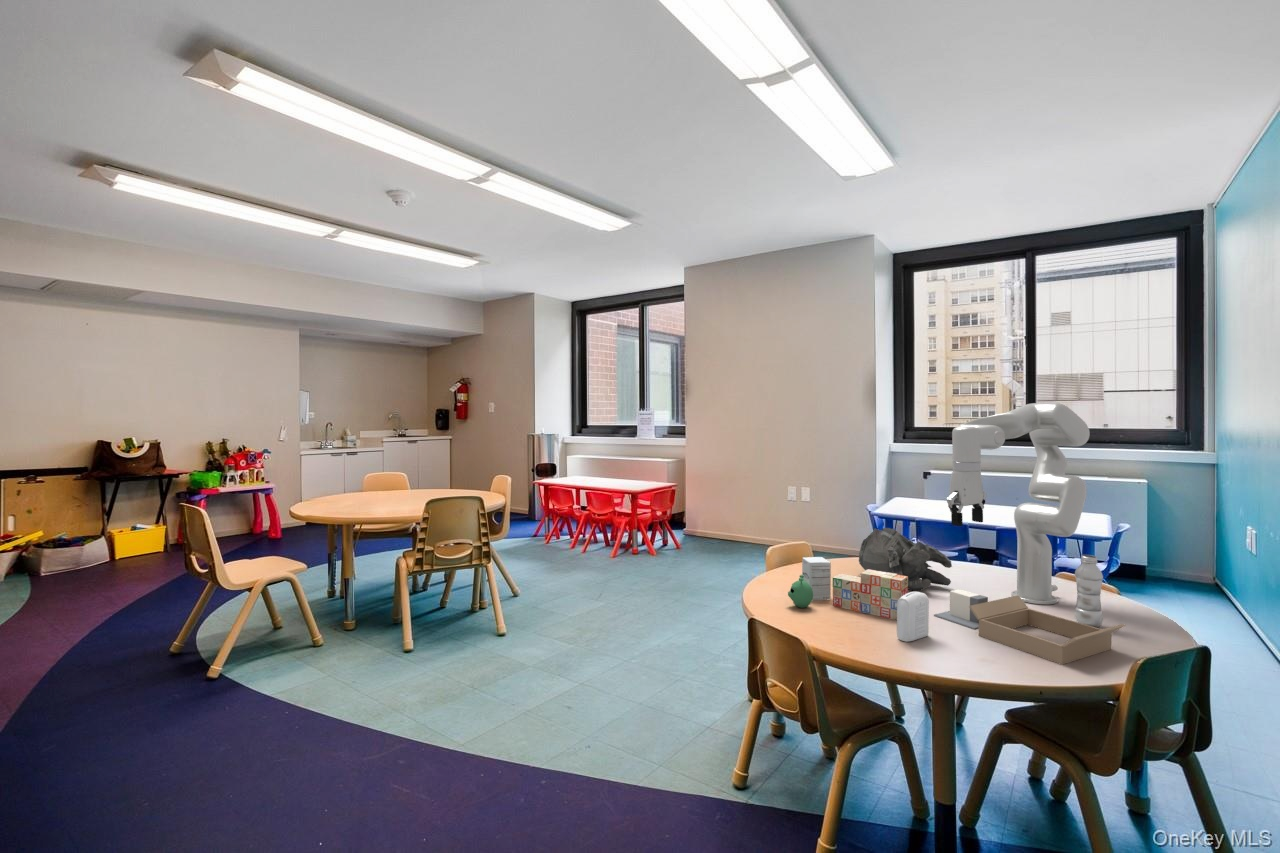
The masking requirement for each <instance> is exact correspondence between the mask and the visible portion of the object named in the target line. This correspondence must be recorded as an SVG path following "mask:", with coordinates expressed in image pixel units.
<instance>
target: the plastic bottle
mask: <svg viewBox="0 0 1280 853" xmlns="http://www.w3.org/2000/svg"><path fill="white" fill-rule="evenodd" d="M1080 562H1081V564H1080V565H1079V566H1078V567H1077V568H1076V569H1075V571H1074V577H1075V583H1076V591H1077V592H1076V595H1077V596H1076V605H1075V608H1074V619H1075V622H1078V623H1082V624H1085V625H1089V626H1092V627H1096V628H1098V627H1100V626H1102V624H1103V622H1104V615H1103V611H1102V603H1101V594H1102V585H1103V579H1104V574H1103V572H1102V571H1101V570H1100V568H1099V567H1098V562H1099V561H1098V556H1096V555H1093V554H1092V555H1091V554H1081V556H1080Z"/></svg>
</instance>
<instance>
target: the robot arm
mask: <svg viewBox="0 0 1280 853" xmlns="http://www.w3.org/2000/svg"><path fill="white" fill-rule="evenodd" d="M951 432H952V433H951V438H952V442H951V443H952V448H951V449H952V450H951V451H952V472H951V474H950V479H949V480H950V481H949V492H948V497H947V498H946V502H947V505H948V506H947V507H948V509H949V512H950V514H951V516H950V517H951V518H950V519H951V520H950V521H951V525H952V526H957V527H962V526H963V512H962V510H963V509H964V507H967V506H972V508H971V521H972V522H975V523H984V509H985V506H984V505H985V504H986V498H987V493H986V492H984V487H983V476H982V471H981V470H982V462H981V458H982V455H981V453H982V452H981V450H991V451H992V450H997V449H999V448H1001V447H1002V446H1003V445H1004V443H1005V441H1006V440H1010V439H1011V440H1012V439H1017V438H1019V437H1022V436H1024V435H1026V434H1029V438H1030V440H1031V442H1032V444H1033V447H1034V449H1035V452H1036V453H1035V454H1036V461H1035V465H1034V468H1033V472H1032V475H1031V478H1030V481H1029V484H1028V495H1029V497H1030V498H1031V499H1033V500H1034V501H1039V502H1045V503H1046V504H1045V503H1039V502H1024V503H1023V502H1022V503H1020V504H1019V505H1017V506H1016V507H1015V510H1014V512H1013V520H1014V525H1015V530H1016V537H1017V538H1016V540H1017V543H1016V544H1017V551H1016V552H1017V553H1016V554H1017V555H1016V556H1017V558H1016V560H1017V561H1016V564H1017V566H1016V573H1017V574H1016V590H1013V591H1011V597H1013V596H1018V595H1019V597H1020V598H1021V599H1022V601H1024V603H1027V604H1028V603H1030V604H1035V605H1055V604H1056V603H1058V597H1056V596H1055V595H1053V594H1052V593H1053V592H1056V591H1058V586H1057V585H1056V584H1052V575H1053V573H1052V572H1053V568H1052V567H1053V566H1052V565H1053V559H1052V558H1053V557H1052V556H1053V549H1052V548H1053V547H1052V544H1051V542H1050V539H1049V538H1048V536H1047V535H1049V536H1054V537H1060V538H1061V537H1062V538H1068V537H1071V536H1073V535H1074V534H1075V532H1076V530H1077V529H1078V525H1079V522H1080V519H1081V517H1082V516H1081V515H1082V514H1083V510H1084V507H1085V502H1086V498H1087V495H1088V494H1087V493H1088V490H1087V484H1086V482H1085V481H1084V479H1082V478H1081V477H1079V476H1076V475H1070V474H1066V471H1067V467H1068V460H1067V458H1066V456H1065V455H1064V453H1063V451H1062V450H1061V449H1060V447H1081V446H1083V445H1085V444H1086V443H1087V442H1088V441H1089V439H1090V435H1091V434H1090V428H1089V425H1088V424H1087V422H1086V421H1085V420H1083V418H1081V417H1080V416H1079V415H1078V414H1077V413H1075V412H1074V410H1072V409H1071V408H1070V407H1068V406H1066V405H1065V404H1063V403H1060V402H1043V403H1042V402H1036V403H1035V402H1033V403H1027V404H1025V405H1023V406H1019V407H1017V408H1015V409H1012V410H1009V411H1007V412H1004V413H997V414H994V415H988V416H984V417H979V418H975V419H971V420H970V421H966V422H963V423H961V424H959V425H958V426H956V427H954V428H953V429H952V431H951ZM1047 503H1051V504H1047ZM1052 504H1058V505H1052Z"/></svg>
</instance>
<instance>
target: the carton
mask: <svg viewBox="0 0 1280 853" xmlns="http://www.w3.org/2000/svg"><path fill="white" fill-rule="evenodd" d="M969 608H970V609H971V611H972V612H973V614H974V615H975V616H976V618H977V619H978V620H979V628H978V637H981V636H982V638H984V639H988V640H990V639H991V640H990V641H993V642H997V643H999V644H1001V643H1002V645H1005V646H1008V647H1010V646H1011V648H1013V647H1014V648H1013V649H1016V648H1018V649H1017V650H1019V649H1020V650H1019V651H1022V650H1023V651H1022V652H1024V651H1026V652H1025V653H1027V652H1029V653H1028V654H1030V653H1032V654H1031V655H1033V654H1035V655H1034V656H1036V655H1038V656H1037V657H1039V656H1041V657H1040V658H1042V657H1044V658H1043V659H1045V658H1046V659H1045V660H1047V659H1049V660H1048V661H1050V660H1051V662H1053V661H1054V662H1053V663H1056V662H1057V664H1059V663H1060V664H1059V665H1064V664H1065V663H1066V664H1068V663H1071V662H1074V661H1078V660H1082V659H1084V658H1088V657H1090V656H1094V655H1097V654H1101V653H1104V652H1107V651H1110V650H1112V642H1113V640H1112V638H1113V637H1112V635H1113V633H1115V632H1117V631H1118V630H1120V629H1122V628H1124V627H1125V626H1126V624H1125V623H1121V624H1117V625H1113V626H1110V627H1105V628H1103V629H1102V628H1099V627H1094V626H1089V625H1085V624H1082V623H1078V622H1077V621H1076V620H1075V621H1074V620H1071V619H1067V618H1065V617H1060V616H1056V615H1053V614H1049V613H1046V612H1043V611H1038V610H1035V609H1032V608H1029V607H1028V605H1027V604H1026V602H1023V601H1022V599H1021V598H1020V597H1019V595H1018V596H1013V597H1012V596H1010V597H1005V598H999V599H995V600H991V601H988V602H985V603H980V604H976V605H971V606H969ZM1027 624H1029V625H1027ZM1023 625H1025V626H1031V625H1032V626H1031V627H1034V626H1036V627H1035V628H1037V627H1039V628H1038V629H1041V628H1042V629H1041V630H1044V629H1045V631H1047V630H1048V632H1050V631H1051V632H1050V633H1054V632H1055V633H1054V634H1057V633H1058V634H1057V635H1060V634H1061V635H1060V636H1063V635H1064V636H1063V637H1067V638H1071V639H1069V640H1068V641H1066V642H1064V643H1062V644H1059V643H1057V642H1054V641H1050V640H1047V639H1044V638H1041V637H1038V636H1035V635H1032V634H1029V633H1025V632H1023V631H1020V630H1016V628H1015V627H1017V628H1020V627H1019V626H1021V627H1024V626H1023ZM1012 628H1013V629H1012Z"/></svg>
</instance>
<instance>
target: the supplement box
mask: <svg viewBox="0 0 1280 853" xmlns="http://www.w3.org/2000/svg"><path fill="white" fill-rule="evenodd" d="M801 561H802V565H801V567H802V569H801V570H802V571H801V572H802V573H801V575H803V576H804V578H803V579H804V580H803V581H806V582H808V583H809V584H810V586H811V588H812V591H813V599H812V601H828V600H827V599H830V600H831V598H832V597H831V590H832V589H831V586H832V584H831V582H832V581H831V578H832V576H831V575H832V574H831V573H832V570H831V569H832V564H831V561H829V560H827V559H826V558H825V557H823V556H809V557H808V556H806V557H802V560H801Z"/></svg>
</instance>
